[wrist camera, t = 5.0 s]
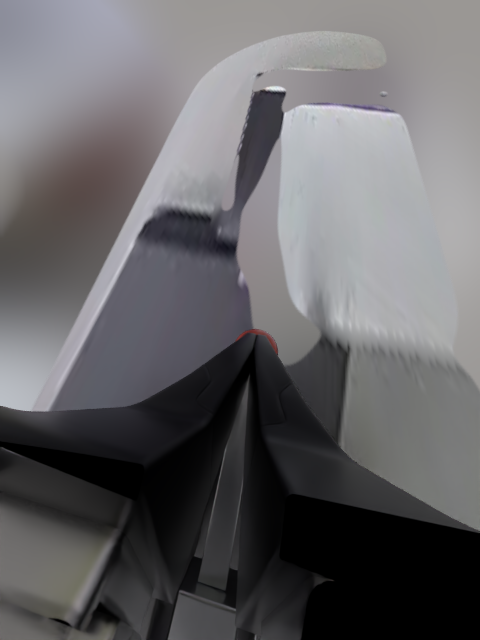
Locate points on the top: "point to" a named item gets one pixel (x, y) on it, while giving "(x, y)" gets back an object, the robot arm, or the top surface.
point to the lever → (216, 550)
